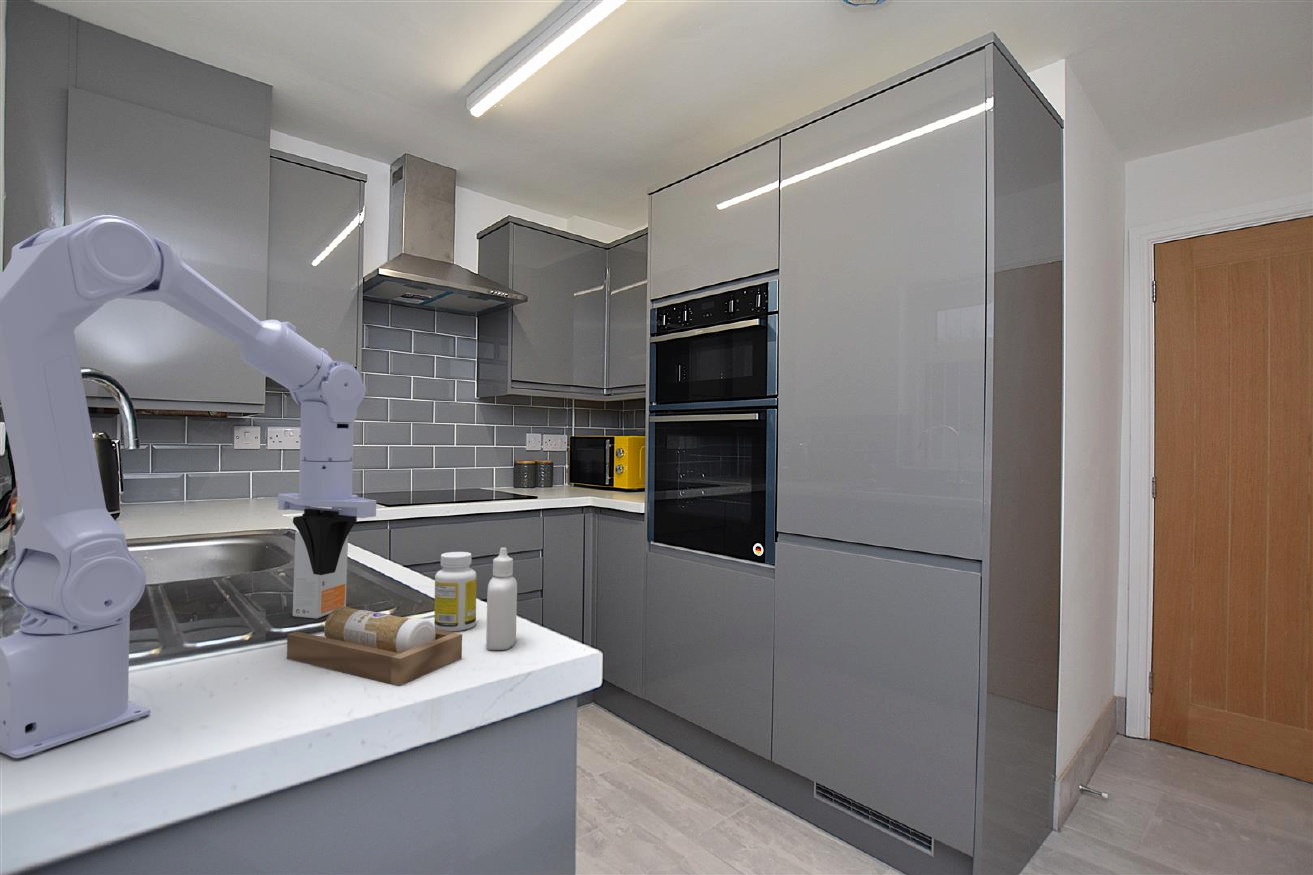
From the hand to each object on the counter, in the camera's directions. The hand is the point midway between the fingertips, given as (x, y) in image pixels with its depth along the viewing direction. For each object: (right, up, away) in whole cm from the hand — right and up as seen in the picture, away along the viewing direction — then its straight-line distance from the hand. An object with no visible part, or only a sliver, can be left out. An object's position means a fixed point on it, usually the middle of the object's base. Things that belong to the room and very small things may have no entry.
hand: (324, 573), depth 79 cm
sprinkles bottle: (+1, -6, +1) cm, 7 cm away
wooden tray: (+7, -9, -3) cm, 12 cm away
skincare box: (-8, -9, +14) cm, 19 cm away
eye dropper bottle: (+21, -10, +3) cm, 23 cm away
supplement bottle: (+13, -9, +9) cm, 19 cm away
